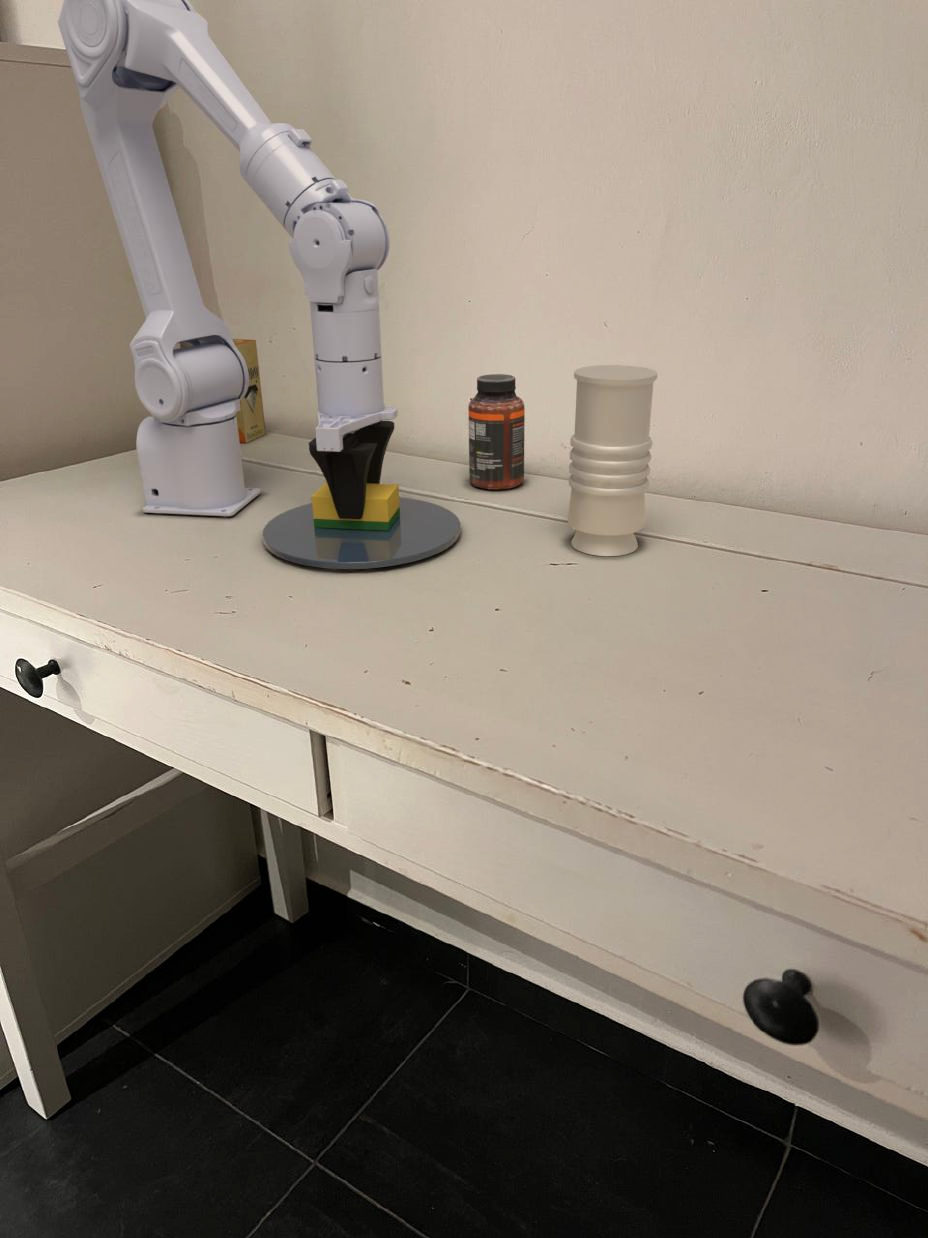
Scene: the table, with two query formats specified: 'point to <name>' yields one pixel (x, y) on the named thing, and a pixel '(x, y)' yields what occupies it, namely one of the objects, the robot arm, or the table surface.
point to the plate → (362, 538)
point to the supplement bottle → (496, 434)
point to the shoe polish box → (250, 396)
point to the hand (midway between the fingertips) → (358, 509)
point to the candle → (610, 457)
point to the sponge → (376, 513)
